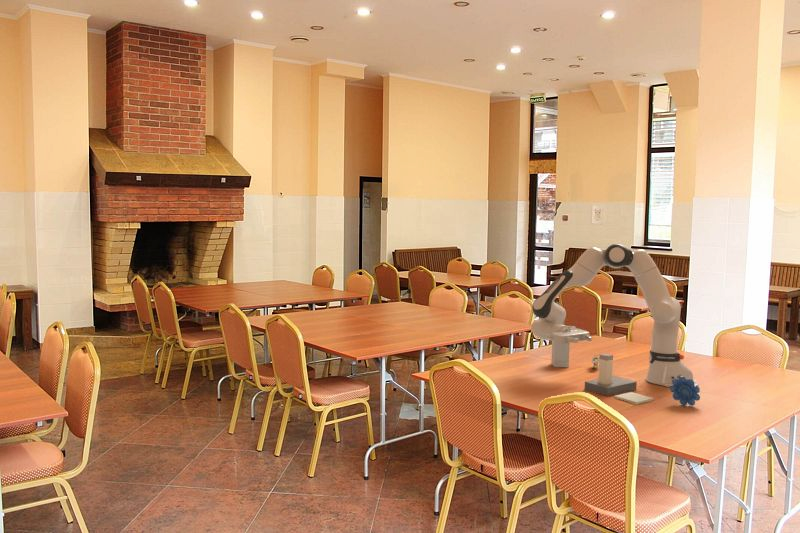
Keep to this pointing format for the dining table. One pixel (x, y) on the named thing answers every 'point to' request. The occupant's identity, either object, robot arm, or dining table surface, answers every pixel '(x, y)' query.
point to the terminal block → (611, 386)
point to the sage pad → (634, 398)
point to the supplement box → (560, 354)
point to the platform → (595, 361)
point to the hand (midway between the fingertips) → (583, 340)
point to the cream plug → (605, 369)
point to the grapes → (685, 391)
